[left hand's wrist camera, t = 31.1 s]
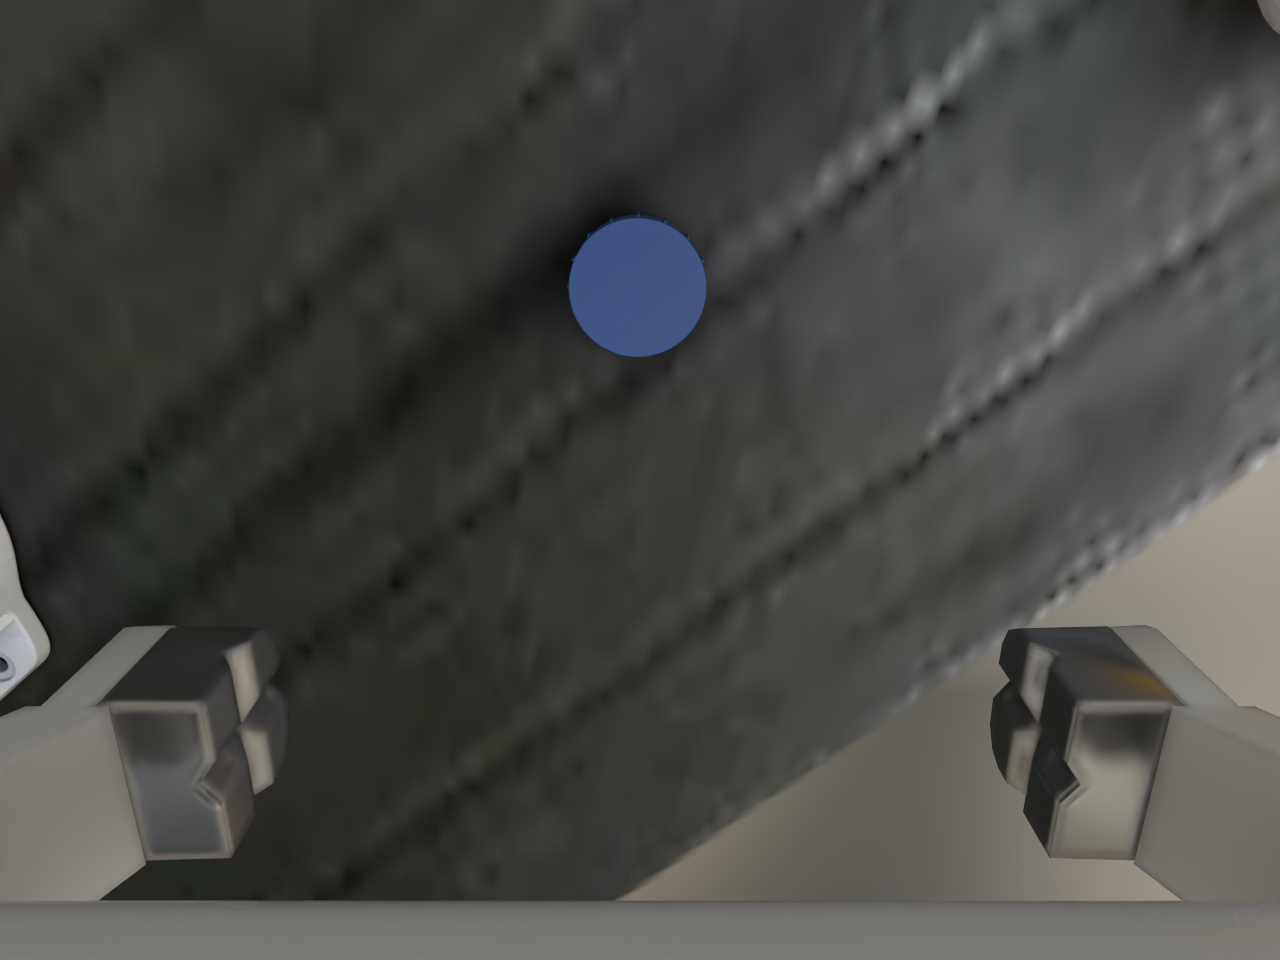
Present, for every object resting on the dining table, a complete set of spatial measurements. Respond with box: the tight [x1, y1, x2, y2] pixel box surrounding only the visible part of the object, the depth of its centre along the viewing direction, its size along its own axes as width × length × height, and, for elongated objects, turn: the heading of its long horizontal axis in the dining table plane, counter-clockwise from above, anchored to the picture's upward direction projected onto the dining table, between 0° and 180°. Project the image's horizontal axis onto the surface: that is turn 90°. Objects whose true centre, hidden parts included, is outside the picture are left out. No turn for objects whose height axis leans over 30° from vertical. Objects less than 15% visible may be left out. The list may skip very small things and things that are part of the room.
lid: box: [567, 212, 708, 357], centre depth 37 cm, size 6×6×2 cm
